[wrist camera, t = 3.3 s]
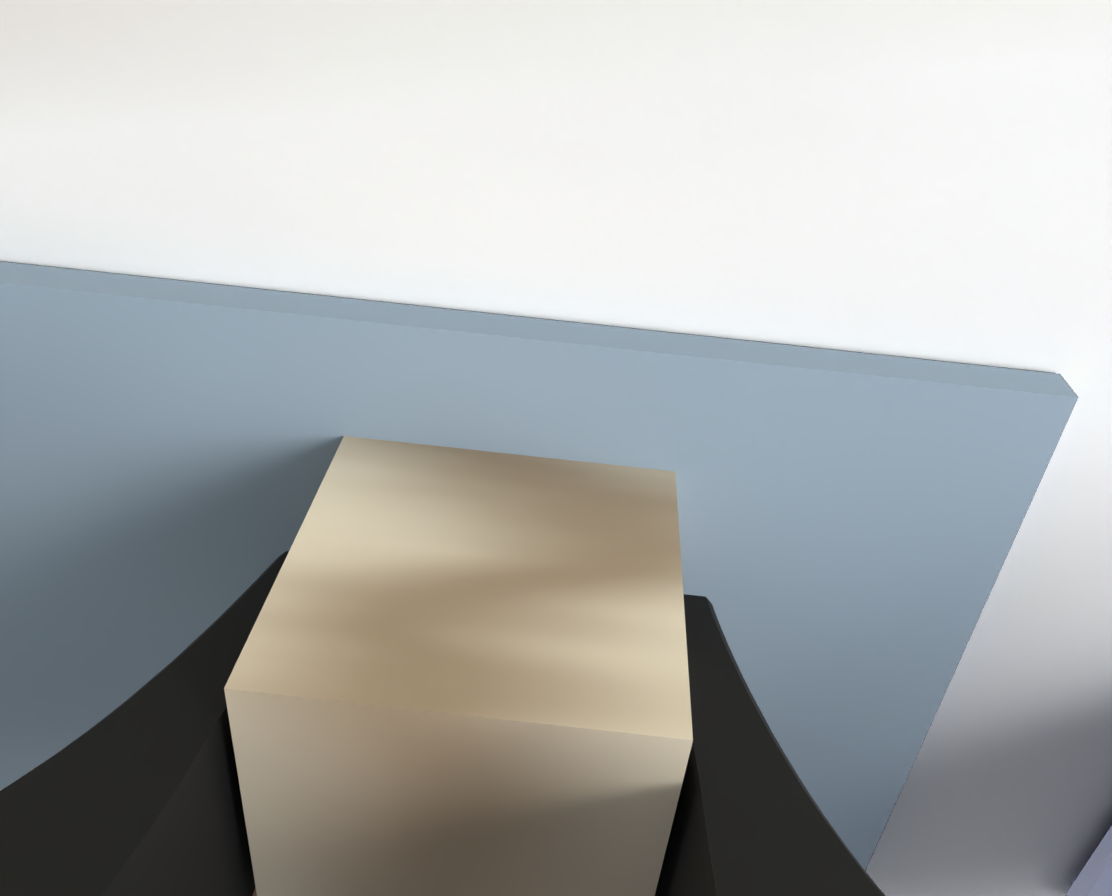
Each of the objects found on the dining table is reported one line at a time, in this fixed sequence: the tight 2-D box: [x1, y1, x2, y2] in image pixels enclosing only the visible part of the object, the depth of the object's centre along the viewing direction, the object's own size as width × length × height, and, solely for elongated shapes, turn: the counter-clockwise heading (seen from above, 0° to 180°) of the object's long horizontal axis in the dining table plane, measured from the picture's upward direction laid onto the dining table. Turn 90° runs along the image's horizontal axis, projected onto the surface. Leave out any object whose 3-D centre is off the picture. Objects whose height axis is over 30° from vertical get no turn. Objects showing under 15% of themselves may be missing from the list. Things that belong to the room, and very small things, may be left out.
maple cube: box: [224, 436, 693, 896], centre depth 12 cm, size 4×4×4 cm
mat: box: [0, 262, 1078, 870], centre depth 18 cm, size 22×20×1 cm
